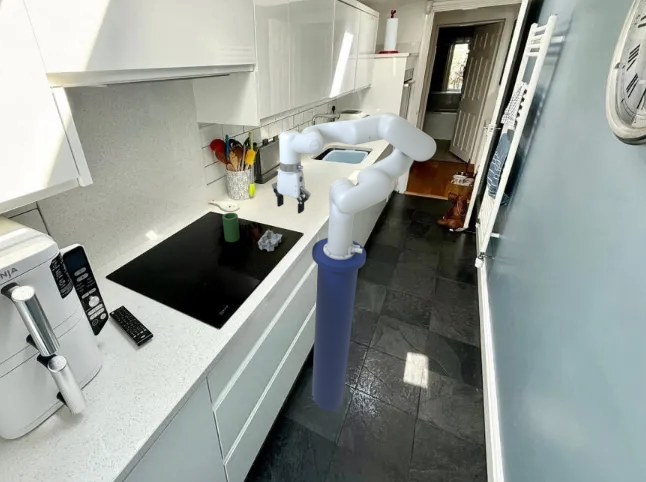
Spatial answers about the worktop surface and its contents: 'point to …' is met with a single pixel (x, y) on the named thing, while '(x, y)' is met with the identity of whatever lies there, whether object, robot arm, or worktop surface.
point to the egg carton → (269, 240)
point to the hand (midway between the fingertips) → (290, 208)
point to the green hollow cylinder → (231, 227)
